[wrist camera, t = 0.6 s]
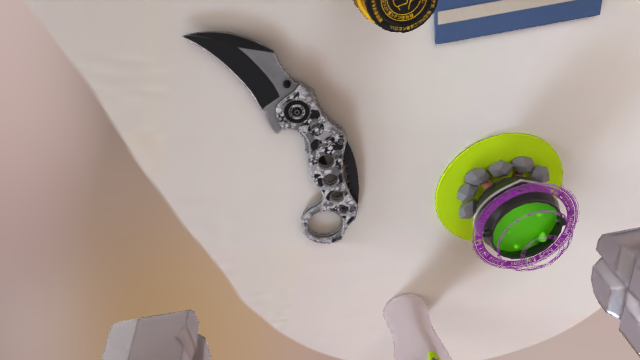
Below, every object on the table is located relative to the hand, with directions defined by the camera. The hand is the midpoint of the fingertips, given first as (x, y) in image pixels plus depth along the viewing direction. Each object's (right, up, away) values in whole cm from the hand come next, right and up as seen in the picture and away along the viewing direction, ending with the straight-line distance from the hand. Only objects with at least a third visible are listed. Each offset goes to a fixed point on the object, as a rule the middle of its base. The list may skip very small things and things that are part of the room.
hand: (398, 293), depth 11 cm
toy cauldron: (+19, +1, +51) cm, 54 cm away
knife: (-4, +7, +44) cm, 45 cm away
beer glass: (+10, -15, +60) cm, 63 cm away
